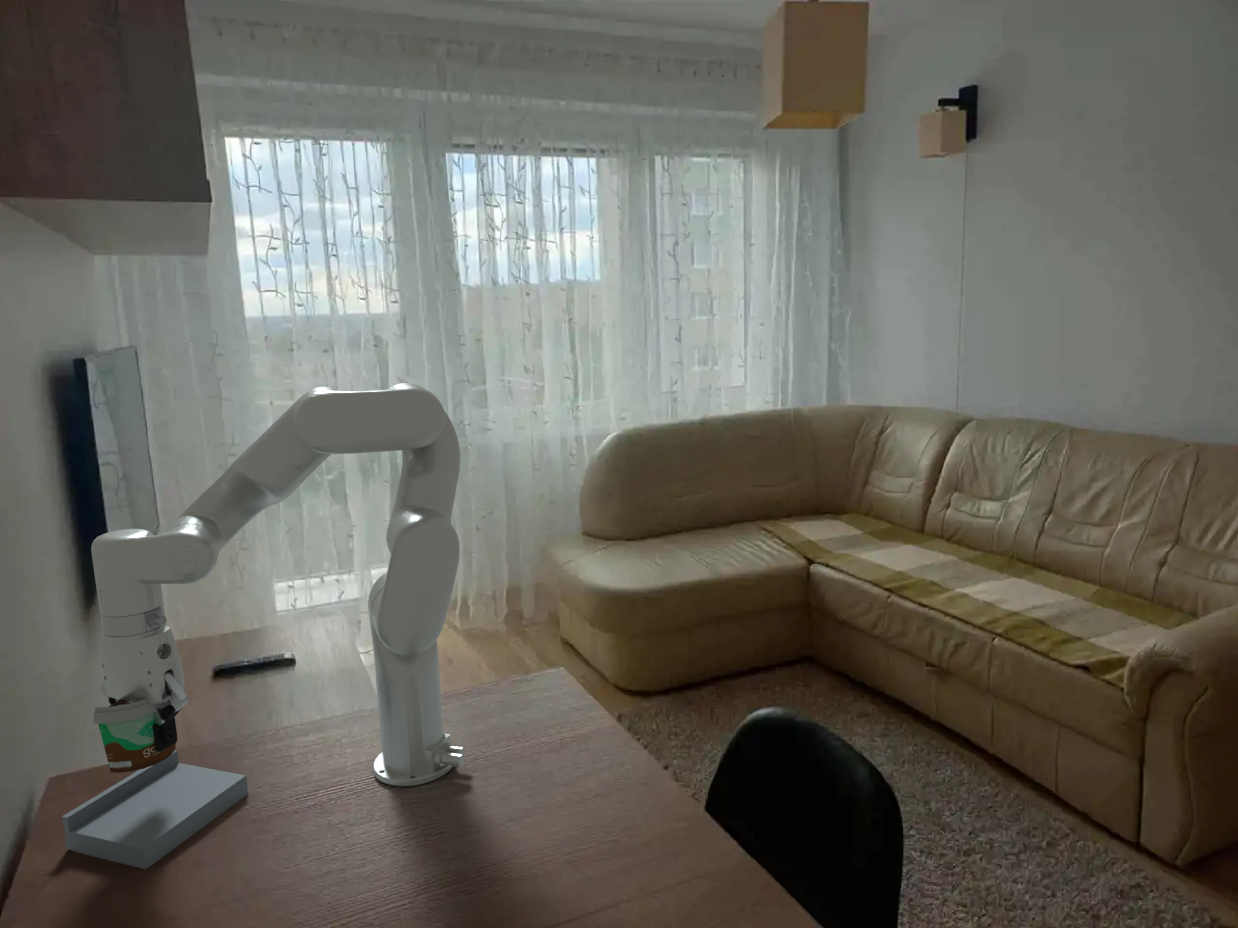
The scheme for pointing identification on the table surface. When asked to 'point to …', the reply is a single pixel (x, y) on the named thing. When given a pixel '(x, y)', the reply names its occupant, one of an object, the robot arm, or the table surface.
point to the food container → (130, 735)
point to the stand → (151, 812)
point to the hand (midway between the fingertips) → (150, 742)
